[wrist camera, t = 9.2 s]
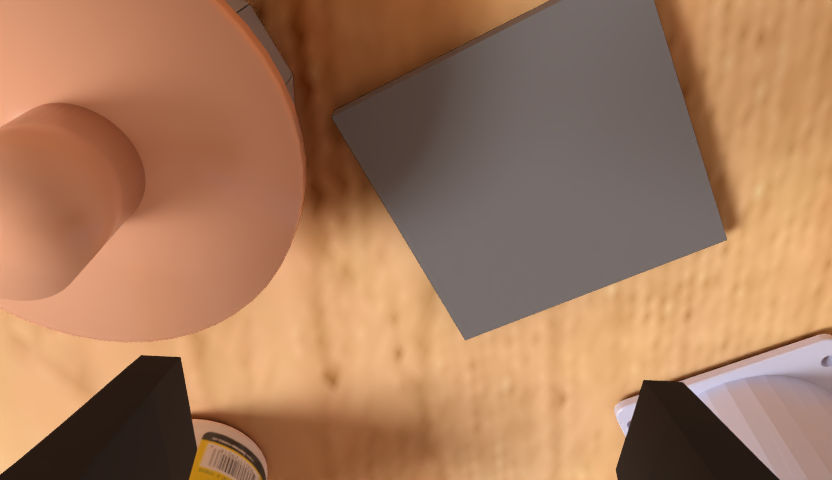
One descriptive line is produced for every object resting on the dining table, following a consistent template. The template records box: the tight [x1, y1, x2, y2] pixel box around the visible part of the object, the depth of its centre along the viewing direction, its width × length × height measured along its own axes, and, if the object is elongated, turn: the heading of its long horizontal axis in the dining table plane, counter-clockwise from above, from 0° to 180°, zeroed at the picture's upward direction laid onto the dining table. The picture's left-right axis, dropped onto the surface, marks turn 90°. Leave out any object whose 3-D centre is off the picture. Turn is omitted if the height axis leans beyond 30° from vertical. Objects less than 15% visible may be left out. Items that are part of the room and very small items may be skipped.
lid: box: [0, 0, 306, 342], centre depth 13 cm, size 10×10×4 cm
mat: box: [331, 0, 727, 340], centre depth 19 cm, size 9×9×1 cm
